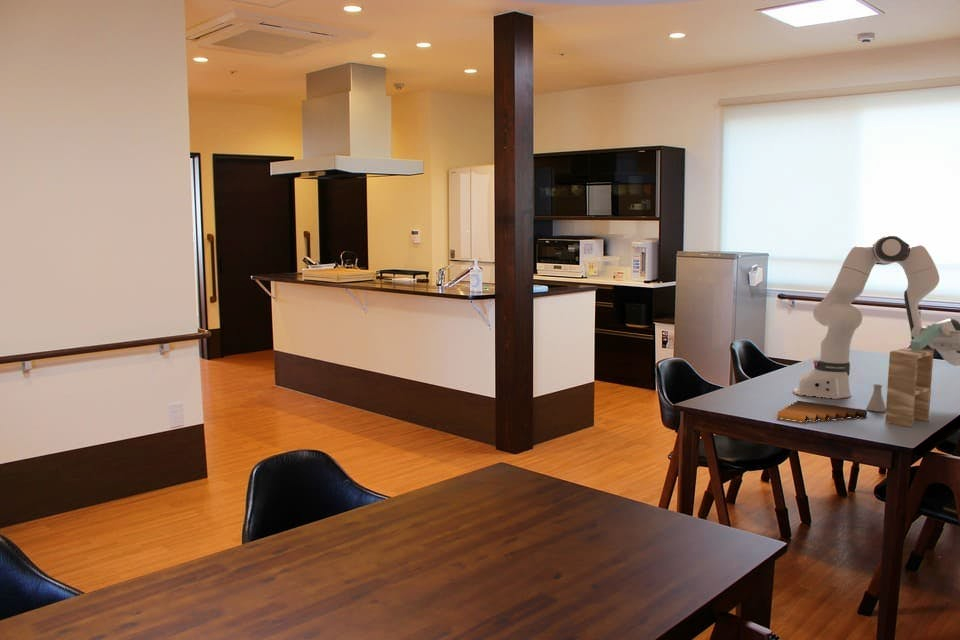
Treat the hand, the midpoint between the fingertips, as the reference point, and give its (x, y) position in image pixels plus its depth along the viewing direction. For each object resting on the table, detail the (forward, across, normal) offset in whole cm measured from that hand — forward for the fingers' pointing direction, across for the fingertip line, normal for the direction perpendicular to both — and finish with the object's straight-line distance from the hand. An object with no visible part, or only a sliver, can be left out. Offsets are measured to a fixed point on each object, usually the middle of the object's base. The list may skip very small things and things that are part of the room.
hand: (935, 327), depth 297 cm
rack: (0, 0, +38) cm, 38 cm away
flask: (-7, -15, +34) cm, 38 cm away
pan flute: (+16, -22, +48) cm, 55 cm away
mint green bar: (+4, 0, +7) cm, 8 cm away
